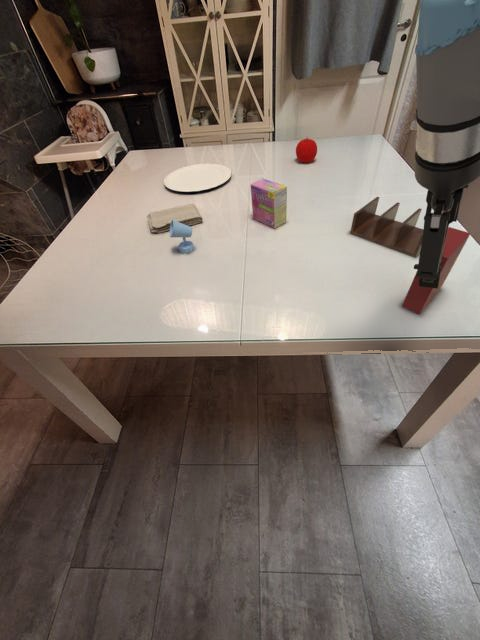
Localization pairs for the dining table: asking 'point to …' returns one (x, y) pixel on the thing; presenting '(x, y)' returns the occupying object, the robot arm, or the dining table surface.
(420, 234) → the rack
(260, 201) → the box
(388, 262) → the dining table surface
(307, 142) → the fruit
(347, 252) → the dining table surface
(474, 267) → the dining table surface
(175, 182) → the plate
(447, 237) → the upright red slab
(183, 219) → the washcloth
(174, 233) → the spotlight
